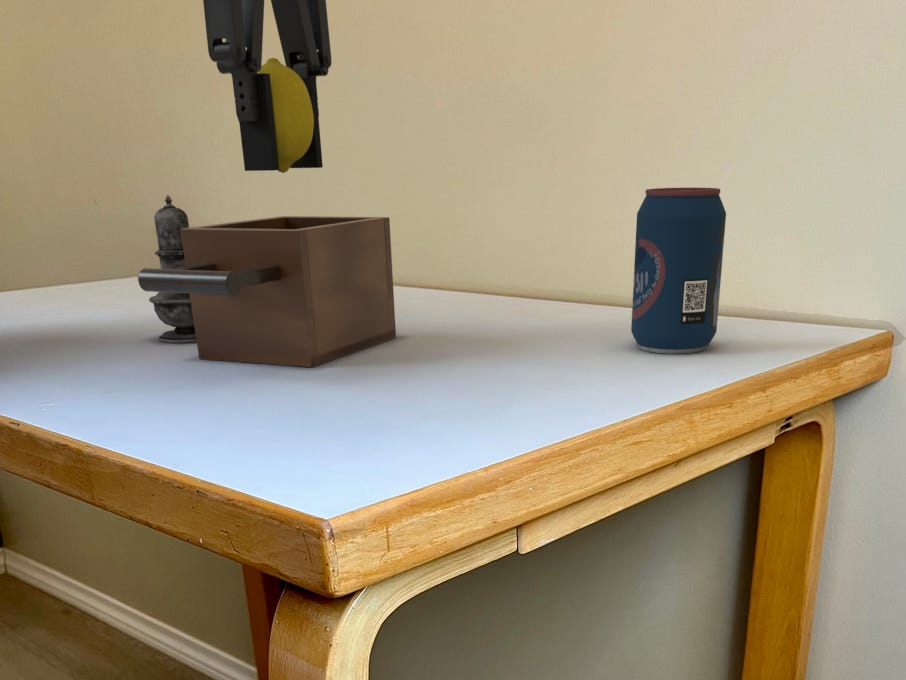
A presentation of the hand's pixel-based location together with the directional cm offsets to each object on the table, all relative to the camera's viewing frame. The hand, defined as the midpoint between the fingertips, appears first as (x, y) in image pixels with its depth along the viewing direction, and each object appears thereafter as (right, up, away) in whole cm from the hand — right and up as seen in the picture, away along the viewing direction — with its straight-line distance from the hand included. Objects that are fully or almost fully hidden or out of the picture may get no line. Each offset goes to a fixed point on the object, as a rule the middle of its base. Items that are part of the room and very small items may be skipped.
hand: (284, 168), depth 80 cm
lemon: (0, 0, 0) cm, 1 cm away
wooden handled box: (-1, -14, +3) cm, 14 cm away
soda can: (+32, -14, +3) cm, 35 cm away
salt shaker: (-11, -10, +12) cm, 19 cm away
